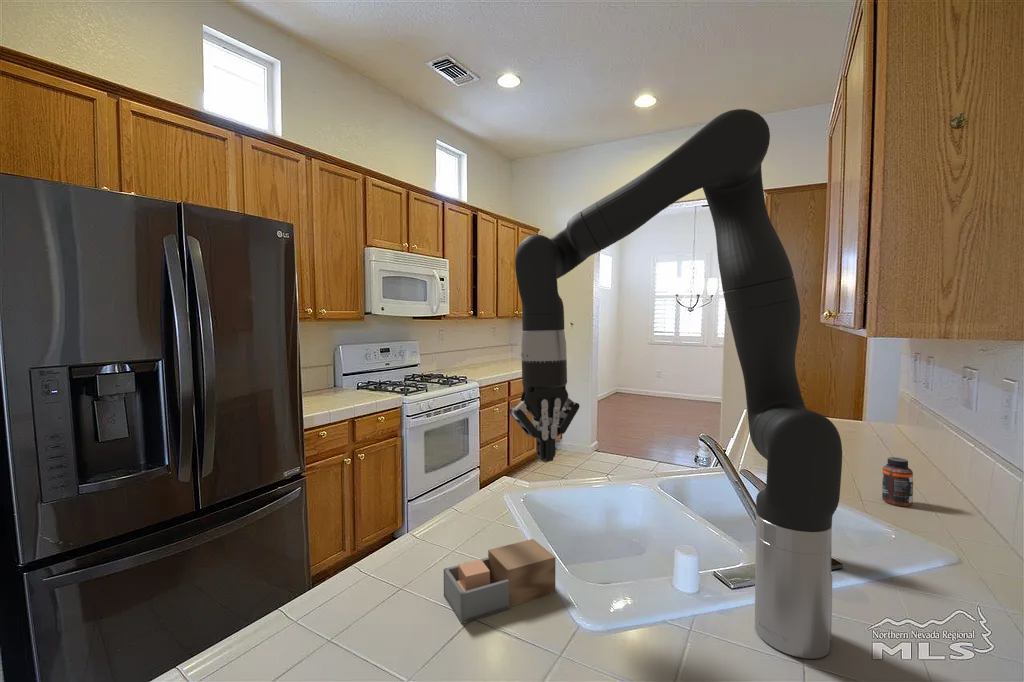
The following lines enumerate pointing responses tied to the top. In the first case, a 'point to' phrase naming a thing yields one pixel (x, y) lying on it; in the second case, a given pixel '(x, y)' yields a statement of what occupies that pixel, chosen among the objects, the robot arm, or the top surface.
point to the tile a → (473, 575)
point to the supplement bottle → (897, 482)
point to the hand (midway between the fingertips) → (546, 460)
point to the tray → (475, 596)
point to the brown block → (523, 570)
